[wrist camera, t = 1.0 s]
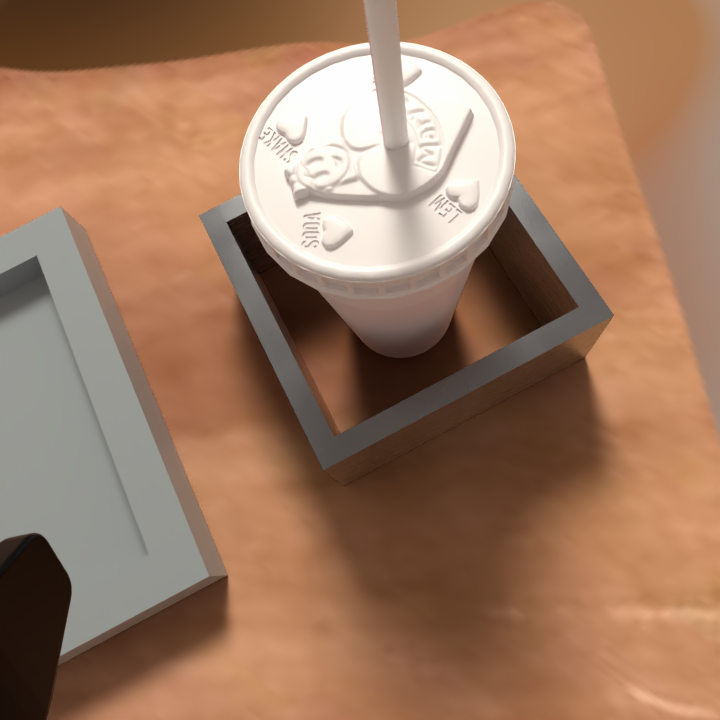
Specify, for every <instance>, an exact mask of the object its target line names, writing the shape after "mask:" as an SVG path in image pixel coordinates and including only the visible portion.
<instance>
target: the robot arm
mask: <svg viewBox="0 0 720 720" xmlns="http://www.w3.org/2000/svg"><path fill="white" fill-rule="evenodd" d="M71 596H72V585H71V581H70V577H69V575H68V573H67V572H66V570H65V568H64V567H63V565H62V563H61V562H60V560H59V559H58V557H57V555H56V554H55V552H54V550H53V549H52V547H51V546H50V544H49V542H48V541H47V539H46V538H45V537H44V536H42V535H41V534H39V533H29V534H24V535H19V536H14V537H10V538H7V539H4V540H3V541H1V542H0V720H47V716H48V712H49V708H50V703H51V699H52V694H53V690H54V684H55V679H56V674H57V669H58V664H59V659H60V653H61V648H62V643H63V638H64V633H65V628H66V623H67V617H68V612H69V607H70V602H71Z"/></svg>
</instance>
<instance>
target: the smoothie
mask: <svg viewBox="0 0 720 720" xmlns="http://www.w3.org/2000/svg"><path fill="white" fill-rule="evenodd" d="M363 4H364V11H365V18H366V25H367V32H368V39H369V43H363V44H358V45H352V46H349V47H345V48H341V49H338V50H335V51H332V52H329V53H327V54H325V55H323V56H320V57H318V58H316V59H314V60H312V61H310V62H309V63H307V64H305V65H303V66H302V67H300V68H299V69H297V70H296V71H294V72H293V73H292V74H291V75H289V76H288V77H287V78H285V79H284V80H283V81H282V82H281V83H280V84H279V85H278V86H277V87H276V88H275V89H274V90H273V91H272V92H271V93H270V94H269V95H268V96H267V98H266V99H265V100H264V102H263V103H262V104H261V106H260V107H259V109H258V110H257V112H256V114H255V115H254V117H253V119H252V121H251V123H250V125H249V127H248V130H247V132H246V135H245V138H244V141H243V145H242V149H241V155H240V163H239V179H240V188H241V193H242V197H243V201H244V204H245V207H246V209H247V212H248V214H249V216H250V219H251V224H252V226H253V228H254V230H255V232H256V234H257V236H258V237H259V239H260V241H261V243H262V245H263V247H264V248H265V250H266V252H267V253H268V254H269V255H270V256H271V257H272V258H273V259H274V260H275V261H276V262H277V263H278V264H279V265H280V266H281V267H282V268H283V269H284V270H285V271H286V272H287V273H288V274H289V275H290V276H292V277H294V278H296V279H298V280H300V281H301V282H303V283H305V284H307V285H309V286H311V287H312V288H314V289H316V290H318V291H319V292H320V294H321V295H322V296H323V297H324V298H325V299H326V300H327V302H328V303H329V304H330V305H331V306H332V307H333V308H334V310H335V311H336V312H337V313H338V314H339V315H340V317H341V318H342V319H343V320H344V321H345V322H346V323H347V325H348V326H349V327H350V328H351V329H352V330H353V331H354V333H355V334H356V335H357V336H358V337H359V338H360V339H361V341H362V342H363V343H364V344H365V345H366V346H368V347H369V348H370V349H372V350H373V351H375V352H377V353H379V354H381V355H384V356H388V357H394V358H407V357H412V356H416V355H419V354H421V353H424V352H426V351H427V350H429V349H431V348H432V347H433V346H435V345H436V344H437V343H438V342H439V341H440V340H441V338H442V337H443V336H444V334H445V333H446V331H447V329H448V327H449V324H450V322H451V319H452V317H453V314H454V311H455V309H456V306H457V304H458V301H459V299H460V296H461V294H462V291H463V288H464V286H465V283H466V281H467V278H468V276H469V273H470V271H471V268H472V265H473V263H474V260H475V258H476V257H477V256H479V255H480V254H481V253H482V252H483V251H484V250H485V249H486V248H487V247H488V246H489V244H490V242H491V241H492V239H493V237H494V236H495V234H496V232H497V231H498V229H499V228H500V226H501V224H502V223H503V221H504V219H505V218H506V215H507V211H508V207H509V204H510V200H511V196H512V192H513V189H514V168H515V159H516V147H515V137H514V132H513V127H512V124H511V121H510V118H509V115H508V112H507V110H506V108H505V106H504V104H503V102H502V101H501V99H500V98H499V96H498V94H497V93H496V92H495V90H494V89H493V88H492V87H491V85H490V84H489V83H488V82H487V81H486V80H485V79H484V78H483V77H482V76H481V75H480V74H479V73H478V72H476V71H475V70H474V69H473V68H471V67H470V66H468V65H467V64H465V63H464V62H462V61H461V60H459V59H457V58H455V57H453V56H451V55H449V54H447V53H445V52H442V51H440V50H437V49H434V48H430V47H427V46H423V45H418V44H413V43H406V42H400V38H399V27H398V15H397V3H396V0H363Z"/></svg>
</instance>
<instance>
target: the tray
mask: <svg viewBox="0 0 720 720" xmlns="http://www.w3.org/2000/svg"><path fill="white" fill-rule="evenodd" d="M29 533H39V534H41V535H42V536H44V537H45V538H46V539H47V541H48V542H49V544H50V546H51V547H52V549H53V550H54V552H55V554H56V555H57V557H58V559H59V560H60V562H61V563H62V565H63V567H64V568H65V570H66V572H67V573H68V575H69V577H70V581H71V585H72V596H71V602H70V607H69V612H68V617H67V623H66V628H65V633H64V638H63V643H62V648H61V653H60V659H59V664H58V666H59V665H61V664H62V663H64V662H66V661H68V660H70V659H72V658H74V657H75V656H77V655H79V654H81V653H83V652H85V651H87V650H89V649H90V648H92V647H94V646H96V645H98V644H100V643H102V642H104V641H105V640H107V639H109V638H111V637H113V636H115V635H117V634H118V633H120V632H122V631H124V630H126V629H128V628H130V627H132V626H133V625H135V624H137V623H139V622H141V621H143V620H145V619H146V618H148V617H150V616H152V615H154V614H156V613H158V612H160V611H161V610H163V609H165V608H167V607H169V606H171V605H173V604H175V603H176V602H178V601H180V600H182V599H184V598H186V597H188V596H189V595H191V594H193V593H195V592H197V591H199V590H201V589H203V588H204V587H206V586H208V585H210V584H212V583H214V582H216V581H217V580H219V579H221V578H223V577H225V576H227V572H226V570H225V567H224V565H223V563H222V560H221V558H220V555H219V553H218V550H217V548H216V546H215V543H214V541H213V538H212V536H211V533H210V531H209V529H208V526H207V524H206V521H205V519H204V516H203V514H202V512H201V509H200V507H199V504H198V502H197V499H196V497H195V495H194V492H193V490H192V487H191V485H190V482H189V480H188V478H187V475H186V473H185V470H184V468H183V465H182V463H181V461H180V458H179V456H178V453H177V451H176V448H175V446H174V444H173V441H172V439H171V436H170V434H169V431H168V429H167V427H166V424H165V422H164V419H163V417H162V414H161V412H160V410H159V407H158V405H157V402H156V400H155V397H154V395H153V393H152V390H151V388H150V385H149V383H148V380H147V378H146V376H145V373H144V371H143V368H142V366H141V363H140V361H139V359H138V356H137V354H136V351H135V349H134V346H133V344H132V342H131V339H130V337H129V334H128V332H127V329H126V327H125V325H124V322H123V320H122V317H121V315H120V312H119V310H118V308H117V305H116V303H115V300H114V298H113V295H112V293H111V291H110V288H109V286H108V283H107V281H106V278H105V276H104V274H103V271H102V269H101V266H100V264H99V261H98V259H97V257H96V254H95V252H94V249H93V247H92V244H91V242H90V240H89V237H88V235H87V232H86V230H85V228H83V227H82V226H81V225H80V224H79V223H78V222H77V221H76V220H75V219H74V218H73V217H72V216H70V215H69V214H68V213H67V212H66V211H65V210H64V209H63V208H62V207H61V206H60V207H58V208H56V209H54V210H52V211H50V212H48V213H46V214H44V215H43V216H41V217H39V218H37V219H35V220H33V221H31V222H29V223H27V224H25V225H23V226H21V227H19V228H17V229H15V230H13V231H11V232H9V233H7V234H5V235H4V236H2V237H0V542H1V541H3V540H4V539H7V538H10V537H14V536H19V535H24V534H29Z"/></svg>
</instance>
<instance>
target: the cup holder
mask: <svg viewBox="0 0 720 720" xmlns="http://www.w3.org/2000/svg"><path fill="white" fill-rule="evenodd" d="M199 217H200V219H201V221H202V223H203V225H204V227H205V229H206V231H207V233H208V235H209V237H210V239H211V241H212V243H213V245H214V247H215V249H216V252H217V254H218V256H219V258H220V260H221V262H222V264H223V266H224V268H225V270H226V272H227V274H228V276H229V278H230V280H231V282H232V284H233V286H234V288H235V291H236V293H237V295H238V297H239V299H240V301H241V303H242V305H243V307H244V309H245V311H246V313H247V315H248V317H249V319H250V321H251V323H252V325H253V327H254V329H255V332H256V334H257V336H258V338H259V340H260V342H261V344H262V346H263V348H264V350H265V352H266V354H267V356H268V358H269V360H270V362H271V364H272V366H273V368H274V370H275V373H276V375H277V377H278V379H279V381H280V383H281V385H282V387H283V389H284V391H285V393H286V395H287V397H288V399H289V401H290V403H291V405H292V407H293V409H294V412H295V414H296V416H297V418H298V420H299V422H300V424H301V426H302V428H303V430H304V432H305V434H306V436H307V438H308V440H309V442H310V444H311V446H312V448H313V450H314V453H315V455H316V457H317V459H318V461H319V463H320V465H321V467H322V469H323V471H325V472H326V473H327V474H329V475H330V476H331V477H333V478H334V479H336V480H337V481H338V482H340V483H341V484H342V485H344V486H345V485H347V484H348V483H350V482H352V481H354V480H356V479H358V478H360V477H361V476H363V475H365V474H367V473H369V472H371V471H373V470H375V469H376V468H378V467H380V466H382V465H384V464H386V463H388V462H390V461H391V460H393V459H395V458H397V457H399V456H401V455H403V454H405V453H406V452H408V451H410V450H412V449H414V448H416V447H418V446H420V445H421V444H423V443H425V442H427V441H429V440H431V439H433V438H435V437H436V436H438V435H440V434H442V433H444V432H446V431H448V430H450V429H451V428H453V427H455V426H457V425H459V424H461V423H463V422H464V421H466V420H468V419H470V418H472V417H474V416H476V415H478V414H479V413H481V412H483V411H485V410H487V409H489V408H491V407H493V406H494V405H496V404H498V403H500V402H502V401H504V400H506V399H508V398H509V397H511V396H513V395H515V394H517V393H519V392H521V391H523V390H524V389H526V388H528V387H530V386H532V385H534V384H536V383H538V382H539V381H541V380H543V379H545V378H547V377H549V376H551V375H553V374H554V373H556V372H558V371H560V370H562V369H564V368H566V367H568V366H569V365H571V364H573V363H575V362H577V361H579V360H581V359H582V358H584V357H586V355H587V354H588V352H589V351H590V350H591V348H592V347H593V345H594V344H595V342H596V341H597V339H598V338H599V337H600V335H601V334H602V332H603V331H604V329H605V328H606V326H607V325H608V324H609V322H610V321H611V319H612V318H613V316H614V315H613V313H612V312H611V310H610V309H609V308H608V306H607V305H606V303H605V302H604V300H603V299H602V298H601V296H600V295H599V293H598V292H597V291H596V289H595V288H594V286H593V285H592V283H591V282H590V281H589V279H588V278H587V276H586V275H585V274H584V272H583V271H582V269H581V268H580V266H579V265H578V264H577V262H576V261H575V259H574V258H573V257H572V255H571V254H570V252H569V251H568V250H567V248H566V247H565V245H564V244H563V242H562V241H561V240H560V238H559V237H558V235H557V234H556V233H555V231H554V230H553V228H552V227H551V225H550V224H549V223H548V221H547V220H546V218H545V217H544V216H543V214H542V213H541V211H540V210H539V208H538V207H537V206H536V204H535V203H534V201H533V200H532V199H531V197H530V196H529V194H528V193H527V191H526V190H525V189H524V187H523V186H522V184H521V183H520V182H519V180H518V179H517V177H516V176H515V175H514V189H513V192H512V196H511V200H510V204H509V207H508V211H507V215H506V218H505V219H504V221H503V223H502V224H501V226H500V228H499V229H498V231H497V232H496V234H495V236H494V237H493V239H492V241H491V242H490V244H489V248H490V249H491V251H492V252H493V254H494V255H495V257H496V258H497V260H498V261H499V263H500V264H501V266H502V268H503V269H504V271H505V272H506V274H507V275H508V277H509V278H510V280H511V281H512V283H513V284H514V286H515V287H516V289H517V290H518V292H519V293H520V295H521V296H522V298H523V299H524V301H525V302H526V304H527V305H528V307H529V309H530V310H531V312H532V313H533V315H534V316H535V318H536V319H537V321H538V322H539V324H540V325H541V328H539V329H537V330H535V331H533V332H531V333H529V334H527V335H525V336H524V337H522V338H520V339H518V340H516V341H514V342H512V343H510V344H509V345H507V346H505V347H503V348H501V349H499V350H497V351H495V352H493V353H492V354H490V355H488V356H486V357H484V358H482V359H480V360H478V361H477V362H475V363H473V364H471V365H469V366H467V367H465V368H463V369H461V370H460V371H458V372H456V373H454V374H452V375H450V376H448V377H446V378H445V379H443V380H441V381H439V382H437V383H435V384H433V385H431V386H429V387H428V388H426V389H424V390H422V391H420V392H418V393H416V394H414V395H413V396H411V397H409V398H407V399H405V400H403V401H401V402H399V403H397V404H396V405H394V406H392V407H390V408H388V409H386V410H384V411H382V412H381V413H379V414H377V415H375V416H373V417H371V418H369V419H367V420H365V421H364V422H362V423H360V424H358V425H356V426H354V427H352V428H350V429H349V430H347V431H345V432H343V433H340V431H339V429H338V427H337V425H336V423H335V421H334V419H333V418H332V416H331V414H330V412H329V410H328V408H327V406H326V404H325V402H324V400H323V398H322V396H321V394H320V392H319V390H318V388H317V386H316V384H315V382H314V380H313V378H312V376H311V374H310V372H309V370H308V368H307V366H306V364H305V362H304V360H303V358H302V356H301V354H300V352H299V351H298V349H297V347H296V345H295V343H294V341H293V339H292V337H291V335H290V333H289V331H288V329H287V327H286V325H285V323H284V321H283V319H282V317H281V315H280V313H279V311H278V309H277V307H276V305H275V303H274V301H273V299H272V297H271V295H270V293H269V291H268V289H267V287H266V285H265V283H264V282H263V280H262V278H261V276H260V273H262V272H264V271H266V270H267V269H269V268H271V267H273V266H275V265H277V264H278V263H277V262H276V261H275V260H274V259H273V258H272V257H271V256H270V255H269V254H268V253H267V252H266V250H265V248H264V247H263V245H262V243H261V241H260V239H259V237H258V236H257V234H256V232H255V230H254V228H253V226H252V224H251V219H250V216H249V214H248V212H247V209H246V207H245V204H244V201H243V197H242V194H240V195H238V196H236V197H234V198H232V199H230V200H228V201H226V202H224V203H222V204H220V205H218V206H217V207H215V208H213V209H211V210H209V211H207V212H205V213H203V214H201V215H199Z"/></svg>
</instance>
